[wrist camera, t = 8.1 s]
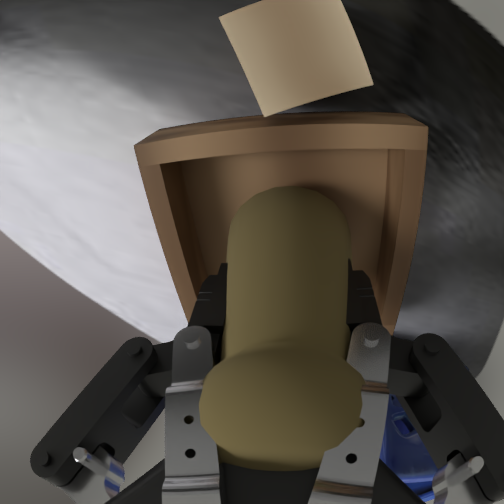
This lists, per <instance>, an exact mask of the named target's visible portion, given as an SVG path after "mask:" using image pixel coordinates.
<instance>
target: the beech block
mask: <svg viewBox="0 0 504 504" xmlns="http://www.w3.org/2000/svg"><path fill="white" fill-rule="evenodd" d="M219 19H220V21H221V23H222V25H223V27H224V29H225V31H226V33H227V36H228V38H229V40H230V42H231V44H232V46H233V48H234V50H235V52H236V55H237V57H238V59H239V61H240V63H241V65H242V68H243V70H244V72H245V74H246V76H247V79H248V81H249V83H250V85H251V88H252V90H253V92H254V94H255V97H256V99H257V101H258V104H259V106H260V108H261V111H262V113H263V115H264V117H266V116H269V115H272V114H275V113H278V112H281V111H284V110H287V109H290V108H293V107H296V106H299V105H302V104H305V103H309V102H312V101H315V100H319V99H322V98H325V97H329V96H332V95H336V94H339V93H343V92H347V91H351V90H355V89H358V88H362V87H366V86H371V85H374V84H373V81H372V78H371V75H370V72H369V69H368V66H367V63H366V61H365V58H364V55H363V52H362V50H361V47H360V44H359V42H358V39H357V37H356V34H355V32H354V29H353V27H352V25H351V22H350V20H349V18H348V15H347V13H346V11H345V8H344V6H343V4H342V2H341V0H262V1H259V2H257V3H254V4H251V5H248V6H246V7H243V8H240V9H238V10H235V11H233V12H230V13H228V14H225V15H223V16H221V17H219Z"/></svg>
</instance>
